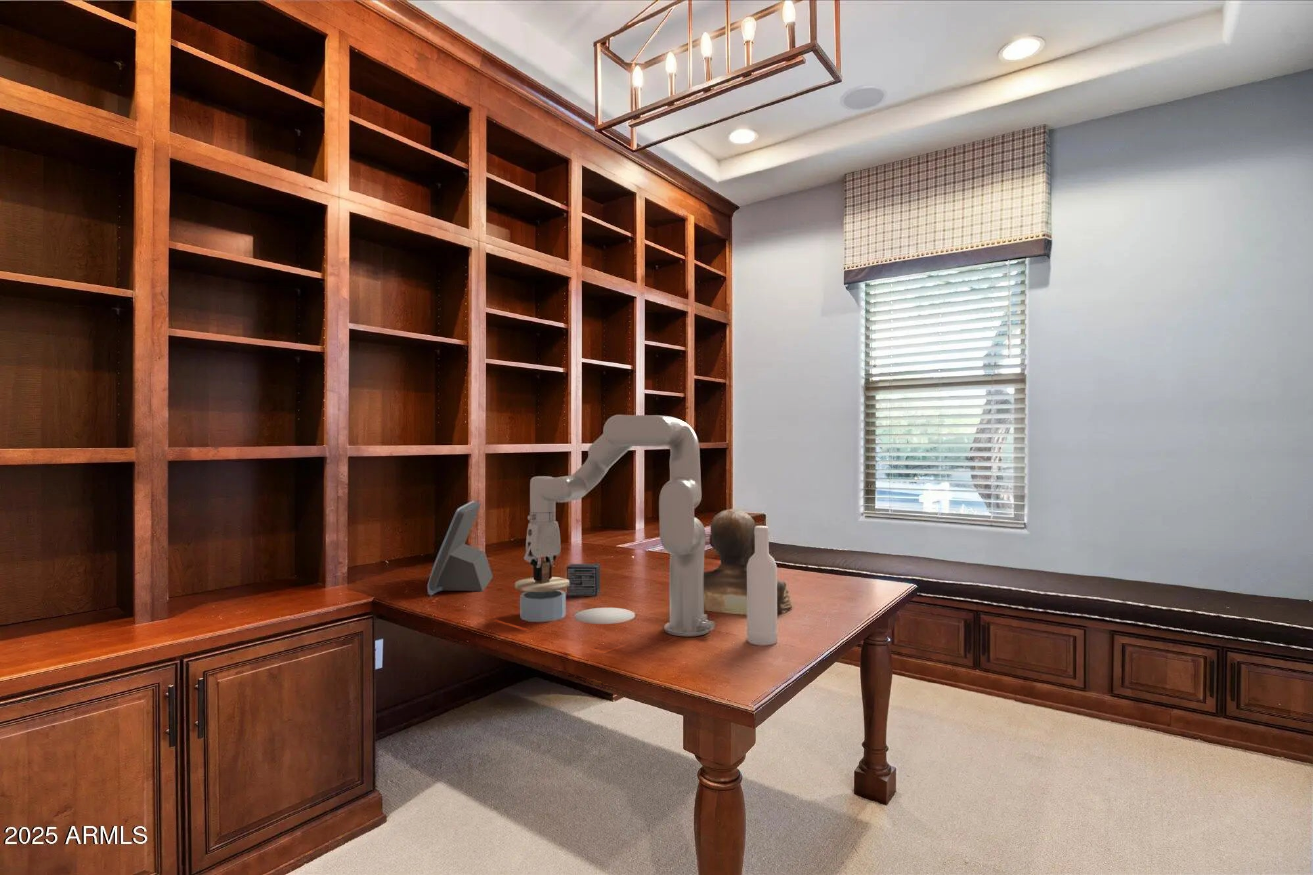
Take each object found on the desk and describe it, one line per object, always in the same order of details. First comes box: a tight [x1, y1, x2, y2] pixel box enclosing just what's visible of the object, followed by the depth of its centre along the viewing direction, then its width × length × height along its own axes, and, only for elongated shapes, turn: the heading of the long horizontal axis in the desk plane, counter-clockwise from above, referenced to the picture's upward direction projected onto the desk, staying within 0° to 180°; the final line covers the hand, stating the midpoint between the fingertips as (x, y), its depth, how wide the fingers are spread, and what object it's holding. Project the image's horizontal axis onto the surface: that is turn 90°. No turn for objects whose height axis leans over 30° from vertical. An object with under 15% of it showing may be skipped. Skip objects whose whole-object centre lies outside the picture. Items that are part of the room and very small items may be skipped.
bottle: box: [746, 525, 779, 647], centre depth 169 cm, size 8×8×30 cm
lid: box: [514, 560, 569, 592], centre depth 192 cm, size 16×16×7 cm
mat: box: [574, 607, 636, 625], centre depth 192 cm, size 18×18×1 cm
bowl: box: [519, 589, 567, 623], centre depth 192 cm, size 13×13×7 cm
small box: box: [566, 563, 601, 598], centre depth 220 cm, size 11×6×10 cm, turn 84°
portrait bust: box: [704, 508, 793, 616], centre depth 207 cm, size 21×35×31 cm, turn 63°
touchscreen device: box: [426, 500, 493, 596], centre depth 238 cm, size 35×20×30 cm, turn 6°
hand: (542, 578), depth 192 cm, fingers closed on lid, 3 cm apart
